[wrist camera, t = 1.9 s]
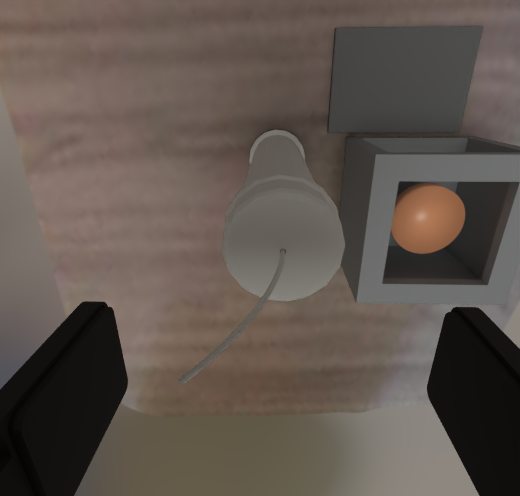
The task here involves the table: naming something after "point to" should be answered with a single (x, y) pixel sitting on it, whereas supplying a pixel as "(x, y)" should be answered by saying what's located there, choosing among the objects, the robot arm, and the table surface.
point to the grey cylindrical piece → (279, 230)
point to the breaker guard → (460, 249)
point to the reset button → (427, 218)
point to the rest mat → (401, 78)
